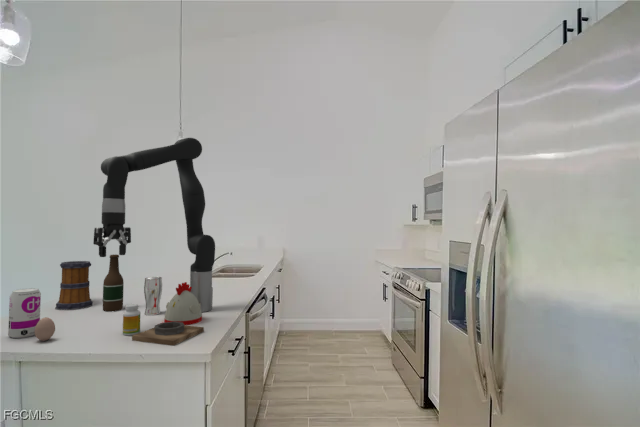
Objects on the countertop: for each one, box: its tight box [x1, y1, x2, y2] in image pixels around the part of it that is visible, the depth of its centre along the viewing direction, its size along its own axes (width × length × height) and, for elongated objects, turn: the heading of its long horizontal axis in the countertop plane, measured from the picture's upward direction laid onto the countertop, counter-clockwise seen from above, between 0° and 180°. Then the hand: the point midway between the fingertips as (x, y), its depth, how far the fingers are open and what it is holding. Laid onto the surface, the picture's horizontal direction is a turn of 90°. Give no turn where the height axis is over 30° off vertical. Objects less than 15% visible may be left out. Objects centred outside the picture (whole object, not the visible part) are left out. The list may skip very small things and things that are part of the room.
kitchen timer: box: [163, 281, 203, 326], centre depth 144 cm, size 14×14×15 cm
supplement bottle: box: [122, 303, 141, 336], centre depth 127 cm, size 5×5×10 cm
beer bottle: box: [102, 254, 125, 313], centre depth 161 cm, size 8×8×24 cm
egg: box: [34, 316, 56, 342], centre depth 118 cm, size 5×5×7 cm
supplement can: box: [7, 287, 42, 339], centre depth 124 cm, size 8×8×15 cm
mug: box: [54, 260, 94, 311], centre depth 168 cm, size 19×14×20 cm
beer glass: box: [143, 276, 163, 316], centre depth 155 cm, size 7×7×15 cm
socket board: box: [131, 322, 205, 346], centre depth 125 cm, size 16×16×4 cm
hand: (112, 256), depth 134 cm, fingers open, 8 cm apart
